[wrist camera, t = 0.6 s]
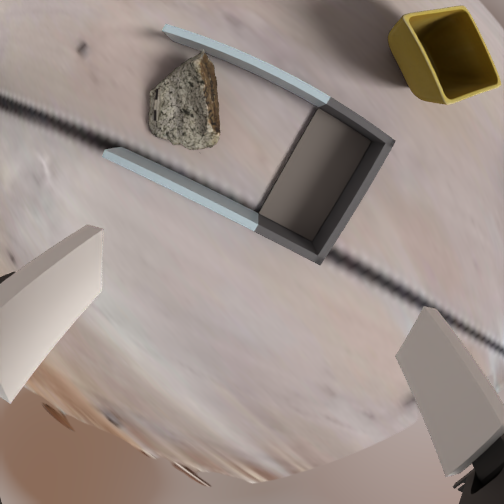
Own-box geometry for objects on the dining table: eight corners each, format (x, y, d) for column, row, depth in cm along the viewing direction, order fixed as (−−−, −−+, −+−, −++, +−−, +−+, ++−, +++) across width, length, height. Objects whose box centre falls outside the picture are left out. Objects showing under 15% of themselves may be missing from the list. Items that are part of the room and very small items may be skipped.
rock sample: (112, 79, 23) (155, 72, 18) (173, 51, 26) (228, 44, 22) (146, 161, 31) (193, 179, 26) (197, 129, 34) (250, 140, 29)
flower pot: (402, 109, 27) (446, 106, 19) (367, 39, 24) (401, 14, 16) (455, 89, 25) (503, 86, 17) (424, 25, 22) (465, 4, 14)
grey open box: (254, 219, 32) (254, 231, 29) (321, 101, 27) (330, 96, 24) (313, 250, 34) (320, 265, 30) (380, 139, 29) (395, 141, 25)
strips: (118, 153, 30) (102, 156, 26) (176, 35, 25) (165, 23, 21) (254, 219, 32) (254, 231, 29) (321, 101, 27) (330, 96, 24)
